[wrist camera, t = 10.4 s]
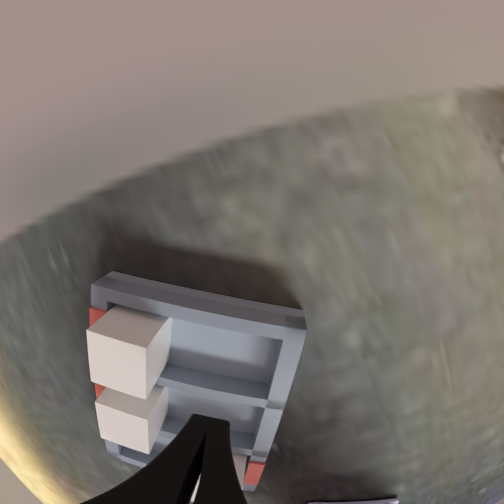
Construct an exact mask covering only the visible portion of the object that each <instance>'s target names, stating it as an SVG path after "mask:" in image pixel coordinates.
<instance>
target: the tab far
mask: <svg viewBox="0 0 504 504" xmlns="http://www.w3.org/2000/svg"><path fill="white" fill-rule="evenodd" d="M232 456H233V460H234V465H235V469H236V473H237V476H238V480H239V483H240V486H241V489H242V490H243V484H244V475H245V466H246V458H247V455H244V454H237V453H232ZM200 475H201V474H200ZM199 481H200V476H199V479H198V482H197V484H196V487H195V490H194V492H193V495H192V498H191V500H190V501H192V502H194V499H195V496H196V492H197V488H198V485H199Z"/></svg>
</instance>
